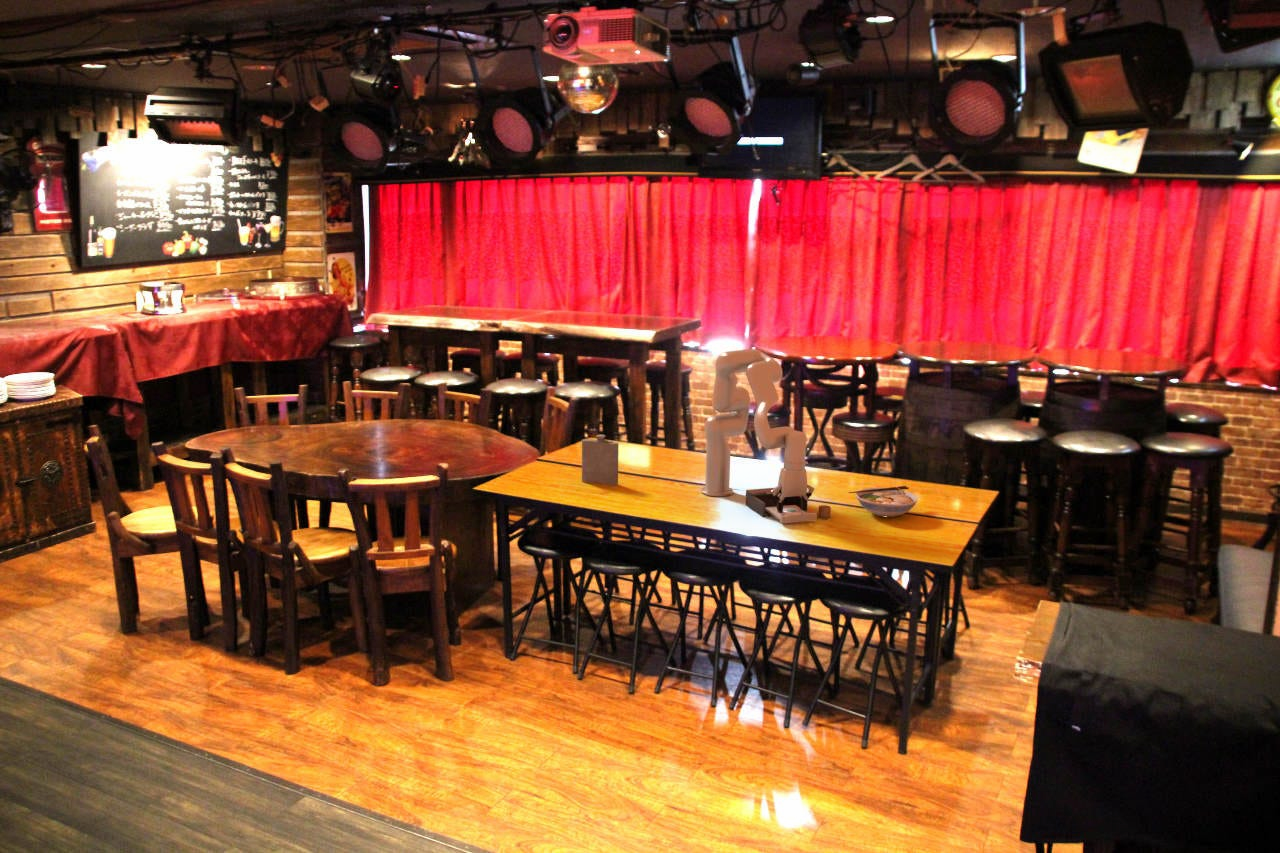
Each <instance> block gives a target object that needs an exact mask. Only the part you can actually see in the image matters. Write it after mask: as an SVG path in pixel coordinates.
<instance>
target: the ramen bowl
mask: <svg viewBox="0 0 1280 853" xmlns="http://www.w3.org/2000/svg"><path fill="white" fill-rule="evenodd" d="M909 488H910V487H909V486H907V485H902V486H894V487H893V486H892V487H869V488H861V489H860V490H857V491H849V492H848V494H855V496H856V499H857V501H858V502H859V504H860V505H861V506H862V507H863V508H864V509H865V510H866V511H867V512H870V513H872V514H874V515H875V516H877V515H879V516H878V517H880V516H887V517H886V518H893V517H892V516H894V517H896V516H901V515H904V514H906V513H908V512H909V511H911V510H912V509H913V508H914V507H915V505H916V504H917V503H918V500H919V497H918V496H917V495H916V494H914V493H912V492H909V491H907V490H909Z"/></svg>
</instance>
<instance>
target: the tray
mask: <svg viewBox="0 0 1280 853" xmlns="http://www.w3.org/2000/svg"><path fill="white" fill-rule="evenodd" d="M784 508H794V509H798V510H800V511H801V514H797V515H785V516H782V515H781V513H780V512H778V511H777V507H766V508H765V511H766V512H768V513H769V514H771V515H772V516H773V517H774V518H775V519H776V520H778V521H779V522H780V524H790V523H801V522H812V521H813V522H814V521H817V520H818V519H817V518H818V513H816V512H812V513H811V512H810V513H809V512H808V511H807V512H806V511H803V510H801V509H800V508H799V507H798V506H796V505H790V506H783V509H784Z"/></svg>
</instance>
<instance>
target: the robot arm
mask: <svg viewBox="0 0 1280 853" xmlns="http://www.w3.org/2000/svg"><path fill="white" fill-rule="evenodd" d="M714 370H715V371H714V372H715V379H714V386H713V390H712V392H713V393H712V399H711V406H712V409H713V411H715V412H716V413H720V414H715V415H711V416H709V417H708V418H707V419H706V420H705V422H704V433H705V434H704V435H705V442H706V444H705V445H706V446H705V447H706V448H705V449H706V450H705V451H706V452H705V454H706V455H705V485H704V486H703V487H702V488H701V491H700V492H701V493H702V494H703V495H705V496H708V497H709V496H710V497H729V496H731V495H733V493H734V490H733V488H732V487H730V479H731V478H730V476H731V472H730V470H731V446H730V444H729V442H728V441H727V439H728V438H734V437H739V436H742V435H743V434H744V433H745V432H746V430H747V425H748V421H749V414H750V408H751V396H750V393H749V391H748V389H747V388H746V387H744V386H737V384H738V378H737V375H736V374H737V373H738V374H739V373H745V376H746V378H747V382H748V384H749V387H750V389H751V392H752V394H753V397H754V401H755V404H756V410H755V413H754V419H753V426H754V430H755V434H756V437H757V439H758V441H759V444H760V445H761V447H763V448H764V449H765V450H775V449H777V450H778V449H781V448H783V449H784V455H783V456H784V457H783V467H782V468H780V472H779V476H778V480H777V481H778V482H777V486H775V487H773V488H774V489H772V490H771V493H772V495H773V497H774V498H775V499H776V500H777V511H778V512H780V513H783V502H782V501H783V499H784V498H785V497H792V496H801V497H802V498H801V501H800V509H801V510H803V511H806V507H807V508H808V503H807V500H808V501H809V498H811V497H812V494H813V493H814V491H815V487H813V486H811V485H810V484H808V474H807V468H806V466H808V465H809V463H808V461H807V460H806V454H807V453H806V451H807V449H806V448H807V435H806V433H805V432H803V431H799V430H797V429H796V430H795V429H794V428H792V427H790V426H788V425H787V426H780V427H772V428H771V426H770V424H769V421H768V413H769V410H770V408H771V407H773V406H775V405H776V404H777V403H778V402H779V400H780V397H779V395H778V394H779V393H778V392H777V388H776V385H775V384H774V383H777V382H780V381H781V379H782V378H783V368H782V366H781V365H780V363H779V362H778V361H777V360H776V359H774V358H773V357H771V356H770V355H768V354H766V353H764V352H763V351H761V350H760V349H755V348H754V349H753V348H752V349H750V348H749V349H742V350H741V349H740V350H738V349H737V350H730V351H725V352H722V353H720V354H719V355H718V356H717V357H716V360H715V369H714ZM777 491H778V493H779V495H778V496H777V494H776V492H777Z"/></svg>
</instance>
